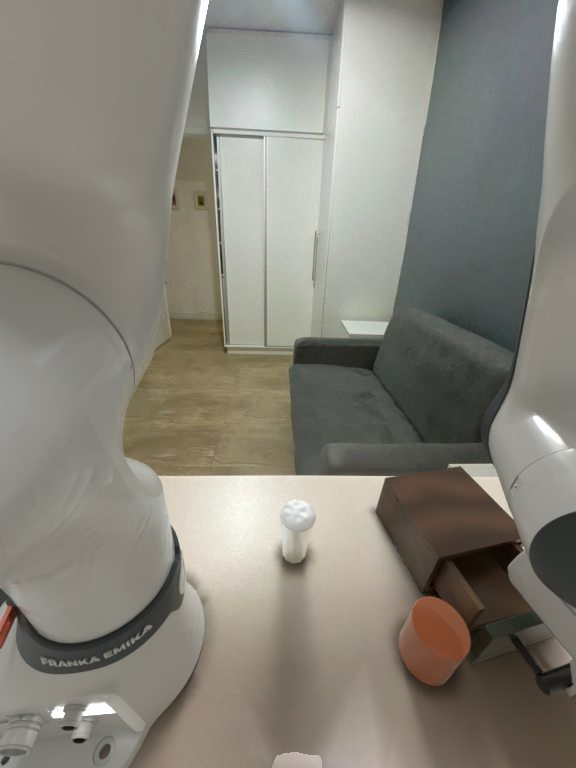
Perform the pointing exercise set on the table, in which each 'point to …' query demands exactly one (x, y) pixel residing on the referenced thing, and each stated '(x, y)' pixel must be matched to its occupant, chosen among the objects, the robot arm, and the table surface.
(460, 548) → the cabinet
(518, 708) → the table surface
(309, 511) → the milkshake
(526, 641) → the drawer
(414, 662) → the orange cylinder puck
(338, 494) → the table surface
